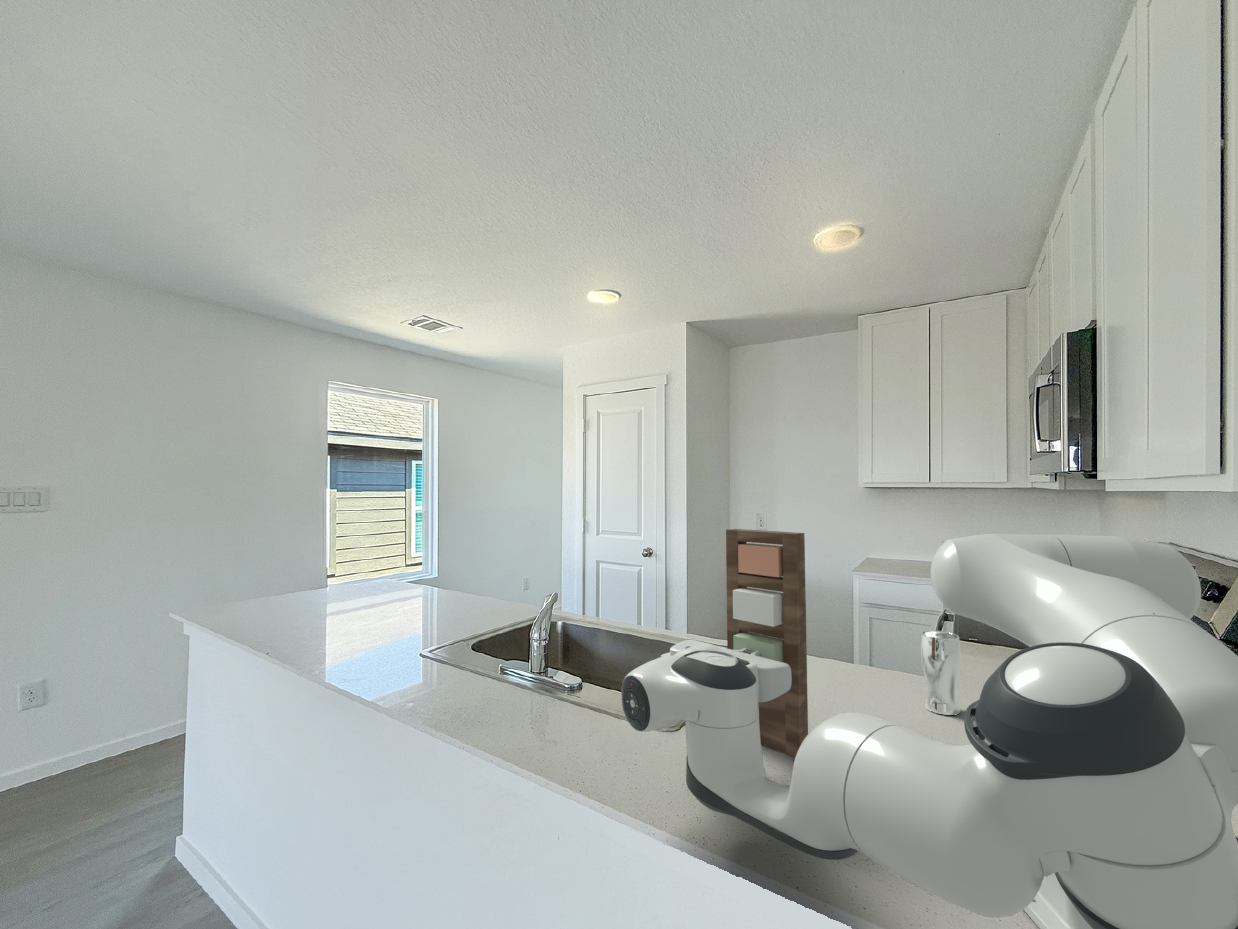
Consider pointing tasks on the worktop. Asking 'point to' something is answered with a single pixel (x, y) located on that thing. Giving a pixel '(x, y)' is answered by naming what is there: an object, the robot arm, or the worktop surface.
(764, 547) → the terracotta key
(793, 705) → the key panel
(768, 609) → the cream key
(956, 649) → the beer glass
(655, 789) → the worktop surface
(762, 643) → the sage key
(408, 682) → the worktop surface
